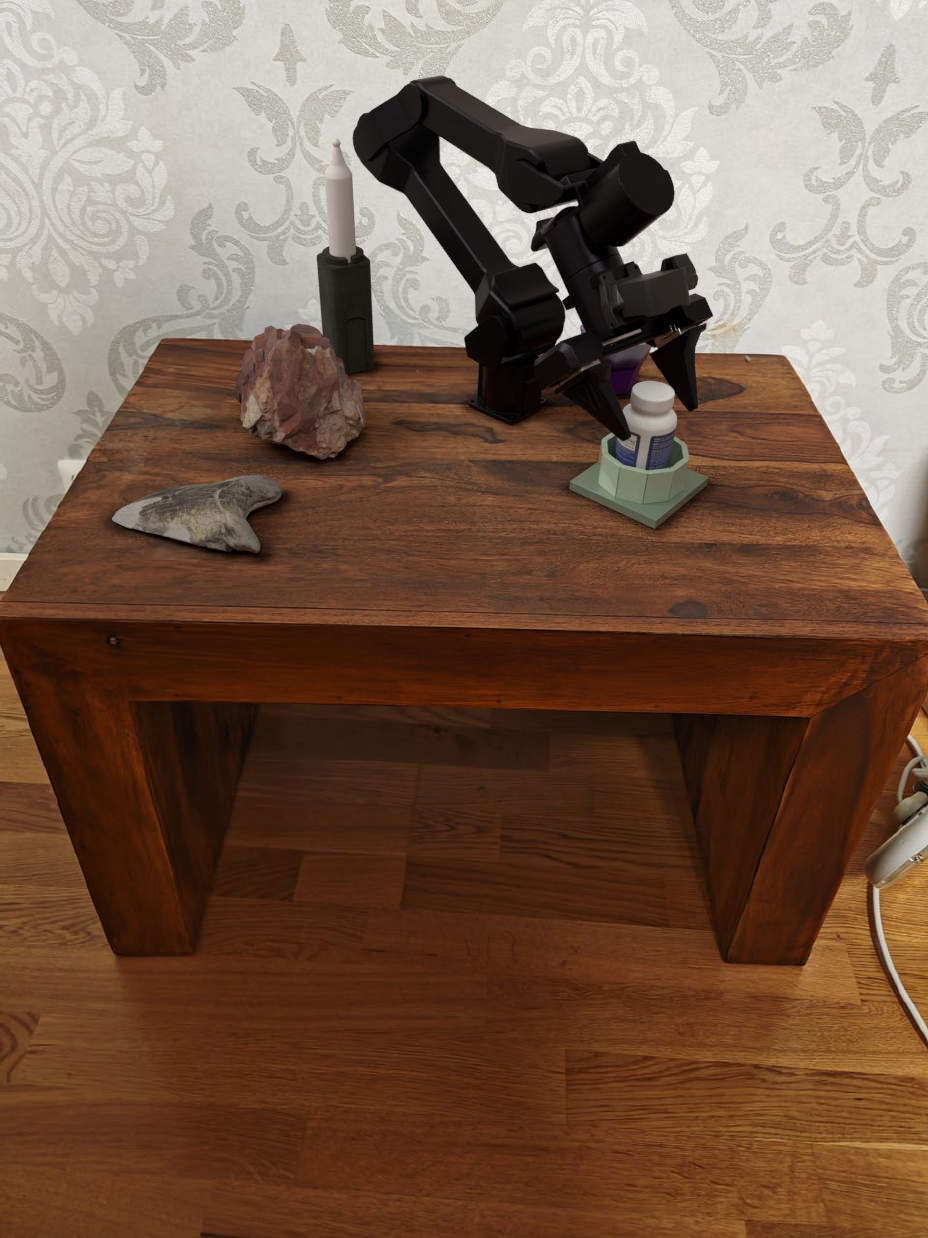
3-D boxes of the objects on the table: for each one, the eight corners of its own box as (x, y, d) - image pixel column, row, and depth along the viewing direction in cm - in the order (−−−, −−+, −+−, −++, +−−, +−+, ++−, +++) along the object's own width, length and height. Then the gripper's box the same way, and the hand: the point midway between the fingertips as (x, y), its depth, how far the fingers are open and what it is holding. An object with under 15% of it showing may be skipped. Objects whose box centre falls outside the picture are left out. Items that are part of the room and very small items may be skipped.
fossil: (122, 457, 93) (274, 451, 92) (138, 493, 97) (285, 488, 95) (86, 538, 86) (251, 532, 84) (105, 574, 89) (264, 569, 88)
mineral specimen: (280, 500, 102) (243, 397, 109) (391, 450, 102) (346, 349, 109) (236, 439, 92) (197, 329, 98) (359, 383, 92) (312, 276, 98)
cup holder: (568, 489, 97) (573, 450, 94) (623, 450, 103) (629, 412, 100) (654, 529, 92) (662, 489, 89) (707, 485, 98) (715, 447, 95)
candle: (337, 377, 113) (321, 148, 96) (321, 359, 116) (303, 134, 100) (377, 368, 115) (369, 142, 98) (361, 351, 118) (349, 129, 101)
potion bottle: (613, 361, 118) (626, 263, 110) (663, 390, 113) (681, 290, 105) (558, 379, 114) (568, 279, 106) (608, 410, 109) (622, 308, 101)
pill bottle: (666, 467, 98) (682, 379, 92) (665, 496, 94) (682, 407, 88) (613, 460, 99) (625, 373, 93) (609, 490, 95) (623, 401, 89)
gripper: (567, 250, 79) (645, 426, 80) (717, 205, 88) (786, 364, 89) (500, 310, 89) (571, 466, 89) (641, 264, 97) (704, 406, 98)
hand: (661, 424), depth 91 cm, fingers open, 9 cm apart
